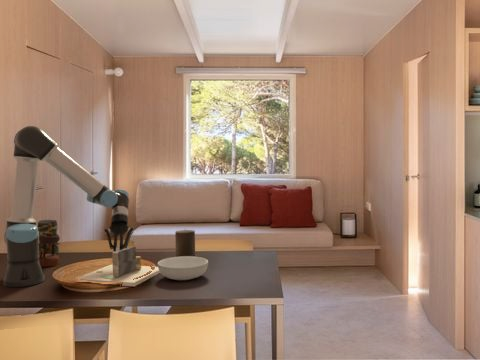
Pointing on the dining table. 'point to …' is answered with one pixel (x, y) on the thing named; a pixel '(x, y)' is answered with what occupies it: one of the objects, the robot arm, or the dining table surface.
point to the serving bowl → (182, 267)
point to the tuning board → (127, 279)
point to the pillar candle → (185, 243)
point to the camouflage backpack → (53, 230)
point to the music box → (48, 247)
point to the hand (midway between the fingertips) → (117, 261)
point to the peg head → (125, 261)
